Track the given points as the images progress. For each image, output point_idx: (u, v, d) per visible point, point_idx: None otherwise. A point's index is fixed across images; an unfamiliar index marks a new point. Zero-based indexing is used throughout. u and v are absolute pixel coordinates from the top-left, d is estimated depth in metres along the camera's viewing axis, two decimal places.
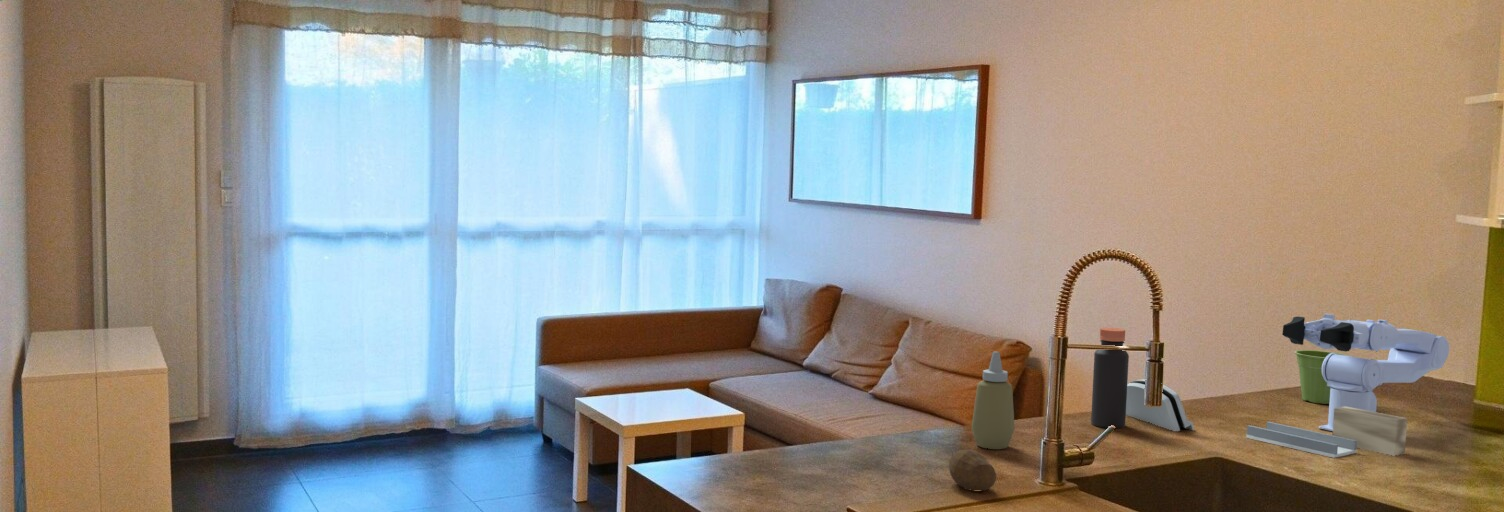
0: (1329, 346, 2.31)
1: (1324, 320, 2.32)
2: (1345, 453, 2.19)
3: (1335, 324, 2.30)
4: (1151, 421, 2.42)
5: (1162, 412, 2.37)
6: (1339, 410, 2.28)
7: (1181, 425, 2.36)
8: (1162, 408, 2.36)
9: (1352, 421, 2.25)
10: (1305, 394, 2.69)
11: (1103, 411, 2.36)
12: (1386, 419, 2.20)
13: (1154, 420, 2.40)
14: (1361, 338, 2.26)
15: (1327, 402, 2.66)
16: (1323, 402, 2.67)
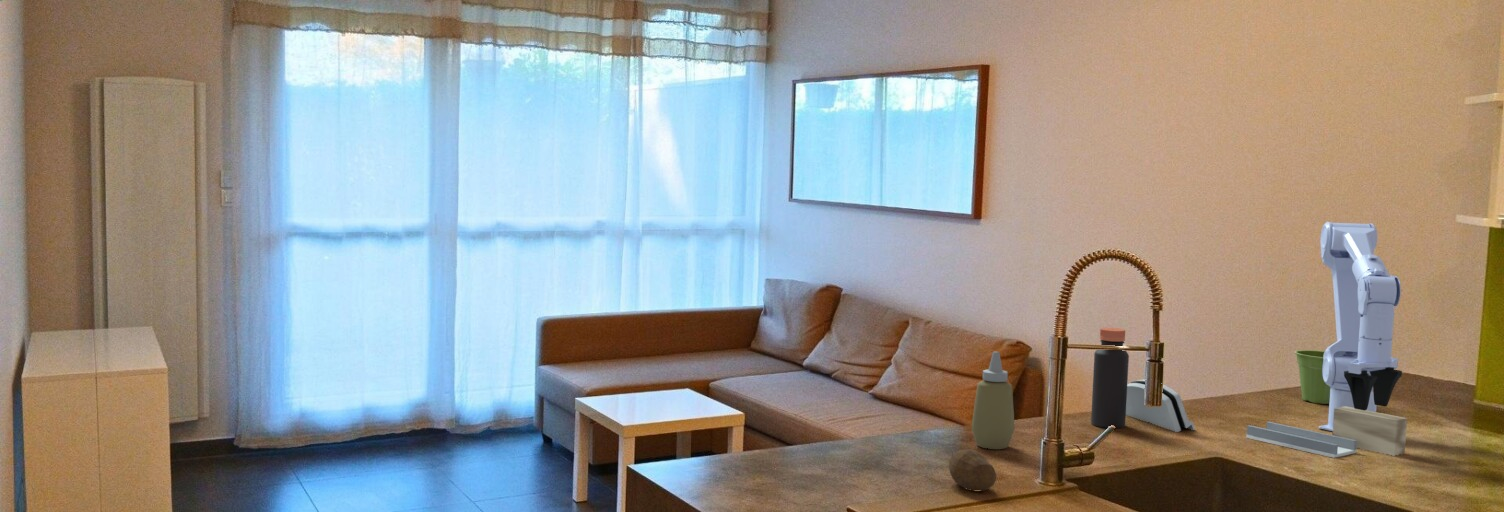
0: None
1: (1385, 367, 2.21)
2: (1345, 453, 2.19)
3: None
4: (1152, 421, 2.41)
5: (1163, 412, 2.37)
6: (1339, 410, 2.28)
7: (1182, 425, 2.36)
8: (1163, 408, 2.36)
9: (1352, 421, 2.25)
10: (1305, 394, 2.69)
11: (1103, 411, 2.36)
12: (1386, 419, 2.20)
13: (1155, 420, 2.40)
14: None
15: (1327, 402, 2.66)
16: (1323, 402, 2.67)
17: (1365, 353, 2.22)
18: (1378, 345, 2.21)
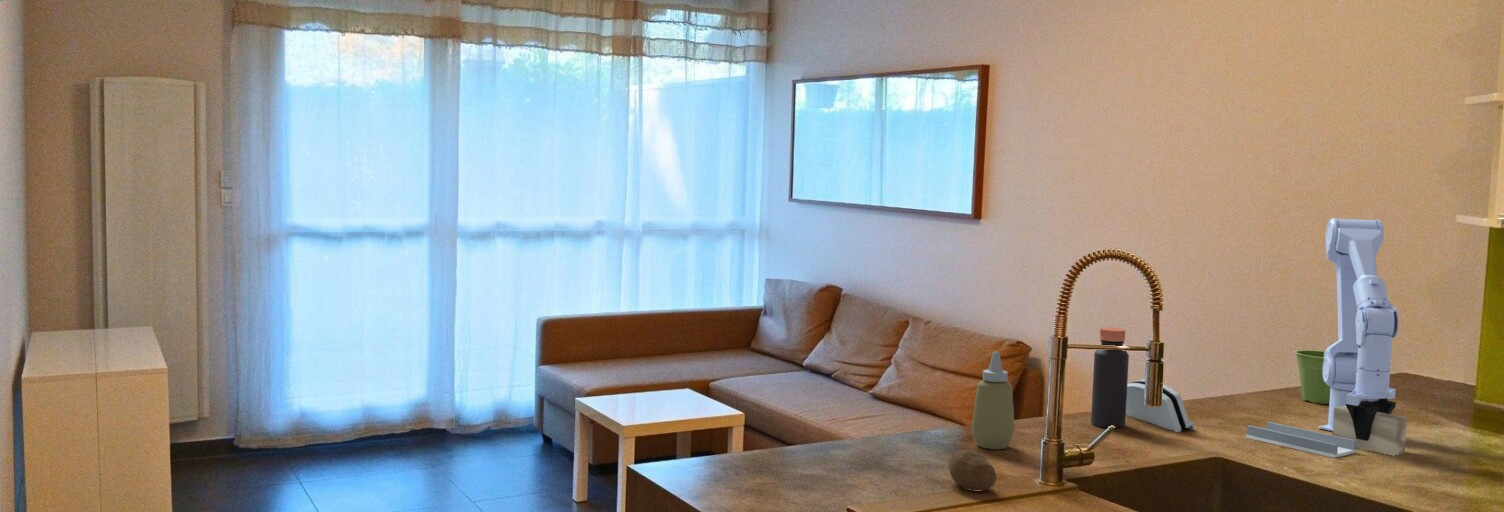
0: None
1: None
2: (1345, 453, 2.19)
3: None
4: (1152, 421, 2.41)
5: (1164, 412, 2.36)
6: (1339, 409, 2.28)
7: (1183, 425, 2.36)
8: (1164, 408, 2.36)
9: None
10: (1305, 394, 2.69)
11: (1103, 411, 2.36)
12: (1386, 418, 2.20)
13: (1155, 420, 2.40)
14: None
15: (1327, 402, 2.66)
16: (1323, 402, 2.67)
17: (1362, 384, 2.23)
18: (1376, 376, 2.21)
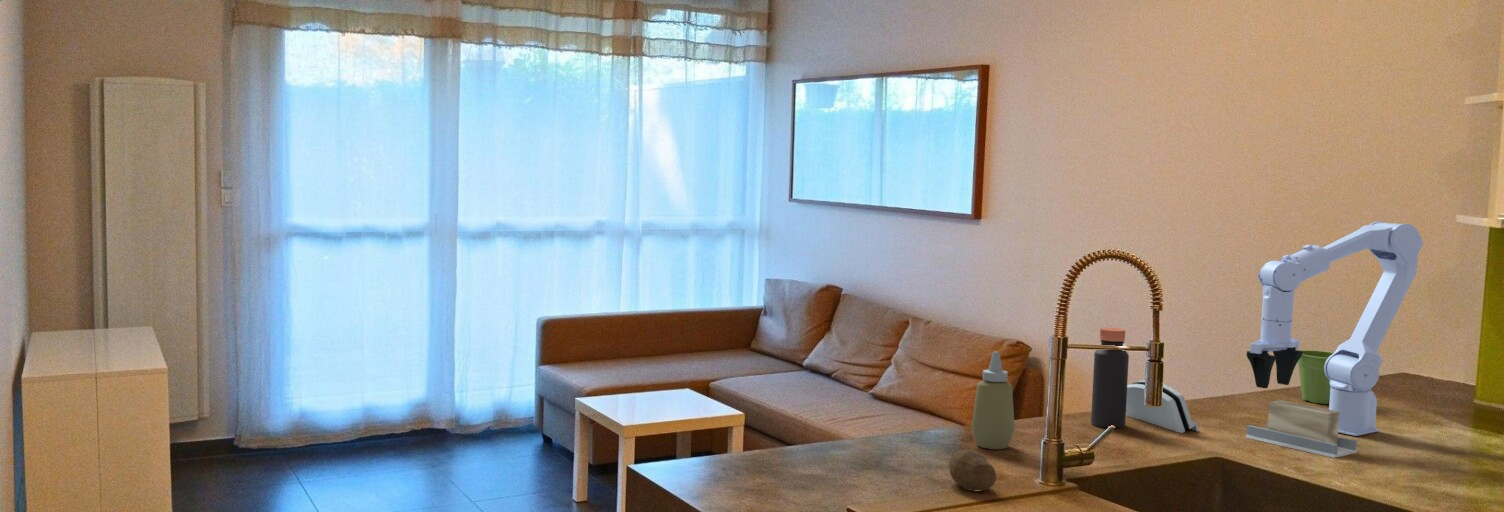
0: None
1: None
2: (1345, 453, 2.19)
3: None
4: (1155, 422, 2.41)
5: (1167, 413, 2.36)
6: (1274, 404, 2.28)
7: (1186, 426, 2.35)
8: (1167, 409, 2.35)
9: (1286, 414, 2.26)
10: (1305, 394, 2.69)
11: (1103, 411, 2.36)
12: (1318, 413, 2.21)
13: (1158, 421, 2.39)
14: None
15: (1327, 402, 2.66)
16: (1323, 402, 2.67)
17: (1266, 334, 2.35)
18: (1278, 326, 2.33)
